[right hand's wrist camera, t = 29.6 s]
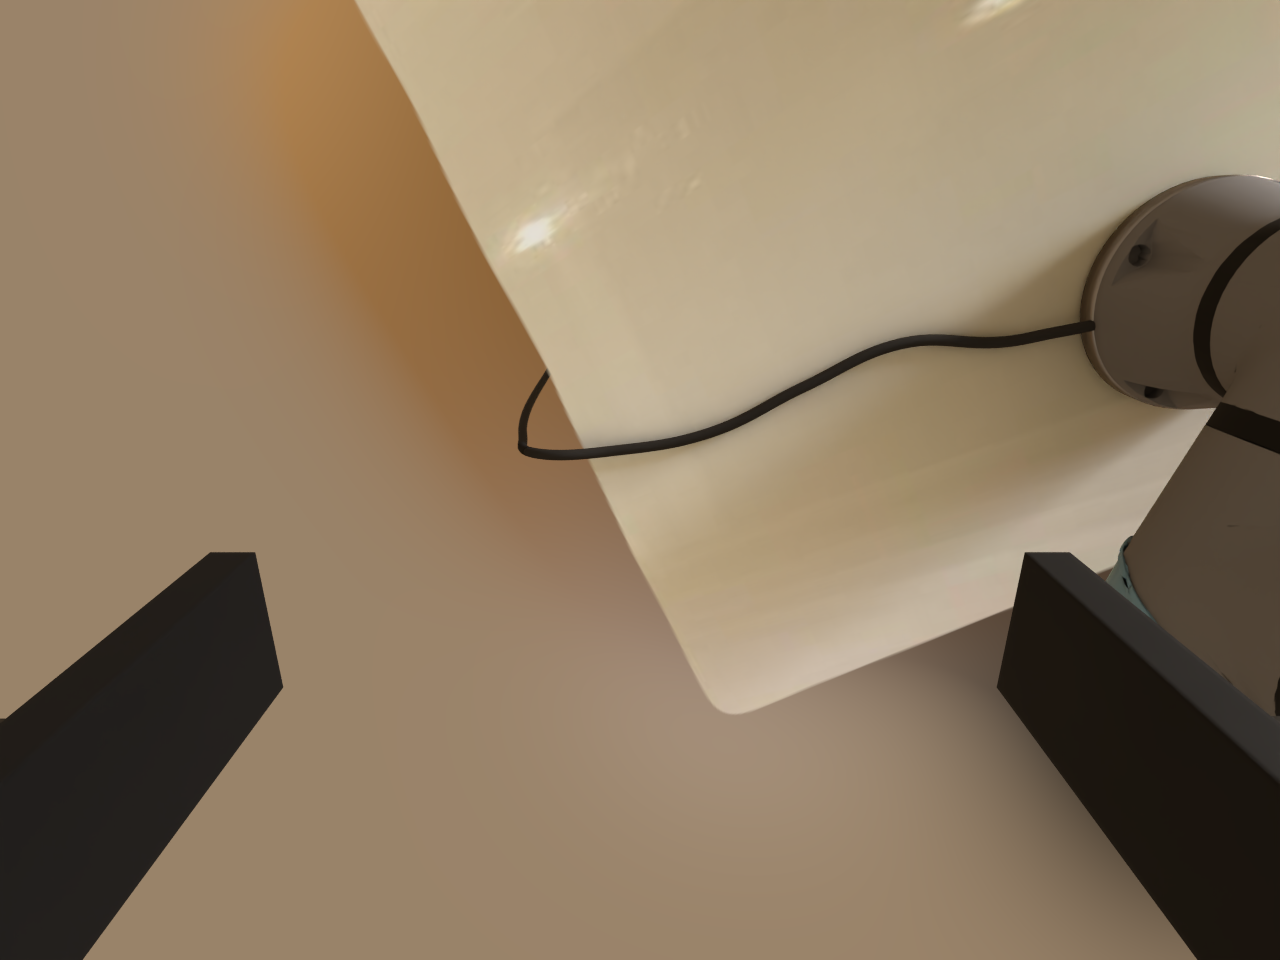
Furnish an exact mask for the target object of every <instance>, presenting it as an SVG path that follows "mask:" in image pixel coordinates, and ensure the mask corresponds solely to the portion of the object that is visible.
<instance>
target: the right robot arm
mask: <svg viewBox="0 0 1280 960" xmlns="http://www.w3.org/2000/svg"><path fill="white" fill-rule="evenodd" d="M1080 333H1081V335H1082V340H1083V345H1084V348H1085V351H1086V353H1087V356H1088V358H1089V360H1090V362H1091V364H1092V365H1093V367H1094V369H1095V370H1096V371H1097V373H1098V374H1099V375H1100V376H1101V377H1102V378H1103V379H1104V380H1105V381H1106V382H1107V383H1108V384H1109V385H1110V386H1112V387H1113V388H1114V389H1116V390H1118V391H1119V392H1121V393H1123V394H1125V395H1127V396H1129V397H1132V398H1134V399H1137V400H1139V401H1142V402H1144V403H1147V404H1151V405H1154V406H1159V407H1164V408H1173V409H1203V408H1216V409H1215V411H1214V412H1213V414H1212V416H1211V417H1210V419H1209V420H1208V422H1207V423H1206V425H1205V426H1204V428H1203V429H1202V431H1201V432H1200V434H1199V435H1198V437H1197V438H1196V440H1195V442H1194V443H1193V445H1192V446H1191V448H1190V449H1189V451H1188V452H1187V454H1186V455H1185V457H1184V459H1183V460H1182V462H1181V463H1180V465H1179V466H1178V468H1177V469H1176V471H1175V473H1174V474H1173V476H1172V477H1171V479H1170V480H1169V482H1168V483H1167V485H1166V486H1165V488H1164V490H1163V491H1162V493H1161V494H1160V496H1159V497H1158V499H1157V500H1156V502H1155V504H1154V505H1153V507H1152V508H1151V510H1150V511H1149V513H1148V514H1147V516H1146V517H1145V519H1144V521H1143V522H1142V524H1141V525H1140V527H1139V528H1138V530H1137V531H1136V533H1135V535H1134V536H1130V537H1129V538H1127V539H1126V541H1125V542H1124V543H1123V545H1122V546H1121V548H1120V553H1119V556H1118V561H1117V563H1116V564H1115V566H1114V568H1113V570H1112V572H1111V573H1110V575H1109V577H1108V578H1107V580H1106V581H1104V580H1103V579H1102V578H1101V577H1099V576H1098V575H1097V574H1096V573H1094V572H1093V571H1092V570H1091V569H1090V568H1088V567H1087V566H1086V565H1085V564H1083V563H1082V562H1081V561H1080V560H1078V559H1077V558H1076V557H1075V556H1074V555H1072V554H1071V553H1070V552H1025V554H1024V559H1023V564H1022V569H1021V573H1020V578H1019V583H1018V588H1017V593H1016V597H1015V602H1014V607H1013V612H1012V617H1011V621H1010V626H1009V631H1008V636H1007V641H1006V646H1005V651H1004V655H1003V660H1002V665H1001V670H1000V675H999V679H998V684H997V688H998V690H999V691H1000V692H1001V694H1002V695H1003V696H1004V698H1005V699H1006V700H1007V702H1008V703H1009V704H1010V706H1011V707H1012V709H1013V710H1014V711H1015V713H1016V714H1017V715H1018V717H1019V718H1020V719H1021V721H1022V722H1023V723H1024V725H1025V726H1026V728H1027V729H1028V730H1029V732H1030V733H1031V734H1032V736H1033V737H1034V738H1035V740H1036V741H1037V743H1038V744H1039V745H1040V747H1041V748H1042V749H1043V751H1044V752H1045V753H1046V755H1047V756H1048V757H1049V759H1050V760H1051V762H1052V763H1053V764H1054V766H1055V767H1056V768H1057V770H1058V771H1059V772H1060V774H1061V775H1062V776H1063V778H1064V779H1065V781H1066V782H1067V783H1068V785H1069V786H1070V787H1071V789H1072V790H1073V791H1074V793H1075V794H1076V795H1077V797H1078V798H1079V800H1080V801H1081V802H1082V804H1083V805H1084V806H1085V808H1086V809H1087V810H1088V812H1089V813H1090V815H1091V816H1092V817H1093V819H1094V820H1095V821H1096V823H1097V824H1098V825H1099V827H1100V828H1101V829H1102V831H1103V832H1104V834H1105V835H1106V836H1107V838H1108V839H1109V840H1110V842H1111V843H1112V844H1113V846H1114V847H1115V848H1116V850H1117V851H1118V853H1119V854H1120V855H1121V857H1122V858H1123V859H1124V861H1125V862H1126V863H1127V865H1128V866H1129V867H1130V869H1131V870H1132V872H1133V873H1134V874H1135V876H1136V877H1137V878H1138V880H1139V881H1140V882H1141V884H1142V885H1143V886H1144V888H1145V889H1146V891H1147V892H1148V893H1149V895H1150V896H1151V897H1152V899H1153V900H1154V901H1155V903H1156V904H1157V906H1158V907H1159V908H1160V910H1161V911H1162V912H1163V914H1164V915H1165V916H1166V918H1167V919H1168V920H1169V922H1170V923H1171V925H1172V926H1173V927H1174V929H1175V930H1176V931H1177V933H1178V934H1179V935H1180V937H1181V938H1182V939H1183V941H1184V942H1185V943H1186V945H1187V946H1188V948H1189V949H1190V950H1191V952H1192V953H1193V954H1194V956H1195V957H1196V958H1197V960H1280V181H1277V180H1273V179H1270V178H1266V177H1261V176H1254V175H1224V176H1212V177H1205V178H1200V179H1195V180H1192V181H1188V182H1185V183H1182V184H1180V185H1177V186H1175V187H1172V188H1170V189H1168V190H1166V191H1164V192H1162V193H1160V194H1159V195H1157V196H1156V197H1154V198H1152V199H1151V200H1149V201H1148V202H1146V203H1145V204H1144V205H1142V206H1141V207H1139V208H1138V209H1137V210H1136V211H1135V212H1134V213H1132V214H1131V215H1130V216H1129V217H1128V218H1127V219H1126V220H1125V221H1124V222H1123V223H1122V224H1121V225H1120V226H1119V227H1118V228H1117V230H1116V231H1115V232H1114V233H1113V234H1112V235H1111V237H1110V238H1109V240H1108V241H1107V242H1106V244H1105V245H1104V246H1103V248H1102V250H1101V251H1100V253H1099V255H1098V256H1097V258H1096V260H1095V262H1094V264H1093V266H1092V268H1091V271H1090V273H1089V276H1088V278H1087V281H1086V285H1085V288H1084V292H1083V297H1082V301H1081V310H1080V322H1078V323H1073V324H1068V325H1063V326H1058V327H1052V328H1047V329H1042V330H1038V331H1033V332H1029V333H1024V334H1018V335H1012V336H1002V337H968V336H955V335H917V336H910V337H905V338H900V339H896V340H892V341H888V342H885V343H882V344H879V345H876V346H873V347H871V348H868V349H866V350H864V351H862V352H859V353H857V354H855V355H853V356H851V357H849V358H847V359H845V360H843V361H841V362H840V363H838V364H836V365H834V366H832V367H830V368H829V369H827V370H825V371H823V372H821V373H819V374H817V375H815V376H813V377H811V378H809V379H807V380H805V381H803V382H801V383H799V384H797V385H795V386H793V387H791V388H789V389H787V390H785V391H783V392H781V393H779V394H778V395H776V396H774V397H772V398H770V399H769V400H767V401H765V402H763V403H761V404H760V405H758V406H756V407H754V408H752V409H751V410H749V411H747V412H745V413H743V414H741V415H739V416H737V417H735V418H732V419H730V420H728V421H726V422H723V423H721V424H718V425H715V426H712V427H710V428H706V429H703V430H700V431H697V432H693V433H690V434H686V435H682V436H678V437H673V438H668V439H662V440H656V441H649V442H641V443H633V444H624V445H616V446H607V447H598V448H588V449H575V450H547V449H538V448H532V447H529V446H527V440H528V438H527V424H528V419H529V416H530V413H531V410H532V408H533V406H534V403H535V401H536V399H537V398H538V396H539V394H540V392H541V390H542V389H543V387H544V385H545V384H546V382H547V380H548V379H549V377H550V373H549V371H548V369H546V371H545V372H544V374H543V376H542V377H541V379H540V380H539V382H538V383H537V385H536V386H535V388H534V390H533V391H532V393H531V395H530V396H529V398H528V400H527V402H526V404H525V406H524V408H523V410H522V413H521V417H520V420H519V426H518V450H519V451H520V453H521V454H523V455H525V456H528V457H532V458H537V459H545V460H578V459H590V458H600V457H609V456H617V455H626V454H635V453H643V452H651V451H658V450H664V449H670V448H675V447H680V446H684V445H688V444H692V443H696V442H699V441H702V440H706V439H709V438H712V437H715V436H718V435H720V434H723V433H726V432H728V431H731V430H733V429H735V428H738V427H740V426H742V425H744V424H746V423H748V422H750V421H752V420H754V419H756V418H757V417H759V416H761V415H763V414H765V413H767V412H768V411H770V410H772V409H774V408H775V407H777V406H779V405H781V404H783V403H785V402H786V401H788V400H790V399H792V398H794V397H796V396H798V395H800V394H802V393H804V392H806V391H809V390H811V389H813V388H815V387H817V386H819V385H821V384H823V383H825V382H827V381H828V380H830V379H832V378H834V377H836V376H838V375H840V374H841V373H843V372H845V371H847V370H849V369H851V368H853V367H855V366H857V365H859V364H861V363H863V362H865V361H867V360H870V359H872V358H875V357H877V356H880V355H883V354H886V353H889V352H892V351H896V350H900V349H905V348H910V347H917V346H954V347H967V348H1002V347H1012V346H1018V345H1024V344H1029V343H1034V342H1039V341H1043V340H1048V339H1053V338H1059V337H1064V336H1069V335H1075V334H1080ZM282 688H283V684H282V679H281V674H280V670H279V665H278V660H277V655H276V650H275V646H274V641H273V636H272V631H271V626H270V621H269V617H268V612H267V607H266V602H265V597H264V593H263V588H262V583H261V578H260V573H259V569H258V564H257V559H256V554H255V552H210V553H209V554H208V555H206V556H205V557H204V558H203V559H202V560H200V561H199V562H198V563H197V564H195V565H194V566H193V567H192V568H190V569H189V570H188V571H187V572H186V573H184V574H183V575H182V576H181V577H179V578H178V579H177V580H176V581H174V582H173V583H172V584H171V585H170V586H168V587H167V588H166V589H165V590H163V591H162V592H161V593H160V594H159V595H157V596H156V597H155V598H154V599H152V600H151V601H150V602H149V603H147V604H146V605H145V606H144V607H143V608H141V609H140V610H139V611H138V612H136V613H135V614H134V615H133V616H131V617H130V618H129V619H128V620H127V621H125V622H124V623H123V624H122V625H120V626H119V627H118V628H117V629H116V630H114V631H113V632H112V633H111V634H109V635H108V636H107V637H106V638H104V639H103V640H102V641H101V642H100V643H98V644H97V645H96V646H95V647H93V648H92V649H91V650H90V651H88V652H87V653H86V654H85V655H84V656H82V657H81V658H80V659H79V660H77V661H76V662H75V663H74V664H72V665H71V666H70V667H69V668H68V669H66V670H65V671H64V672H63V673H61V674H60V675H59V676H58V677H57V678H55V679H54V680H53V681H52V682H50V683H49V684H48V685H47V686H45V687H44V688H43V689H42V690H41V691H39V692H38V693H37V694H36V695H34V696H33V697H32V698H31V699H29V700H28V701H27V702H26V703H25V704H23V705H22V706H21V707H20V708H18V709H17V710H16V711H15V712H14V713H12V714H11V715H10V716H9V717H7V718H6V719H0V960H83V958H84V957H85V956H86V954H87V953H88V952H89V950H90V949H91V948H92V946H93V945H94V944H95V942H96V941H97V939H98V938H99V937H100V935H101V934H102V933H103V931H104V930H105V929H106V927H107V926H108V925H109V923H110V922H111V920H112V919H113V918H114V916H115V915H116V914H117V912H118V911H119V910H120V908H121V907H122V905H123V904H124V903H125V901H126V900H127V899H128V897H129V896H130V895H131V893H132V892H133V891H134V889H135V888H136V886H137V885H138V884H139V882H140V881H141V880H142V878H143V877H144V876H145V874H146V873H147V872H148V870H149V869H150V867H151V866H152V865H153V863H154V862H155V861H156V859H157V858H158V857H159V855H160V854H161V853H162V851H163V850H164V848H165V847H166V846H167V844H168V843H169V842H170V840H171V839H172V838H173V836H174V835H175V834H176V832H177V831H178V829H179V828H180V827H181V825H182V824H183V823H184V821H185V820H186V819H187V817H188V816H189V814H190V813H191V812H192V810H193V809H194V808H195V806H196V805H197V804H198V802H199V801H200V800H201V798H202V797H203V795H204V794H205V793H206V791H207V790H208V789H209V787H210V786H211V785H212V783H213V782H214V781H215V779H216V778H217V776H218V775H219V774H220V772H221V771H222V770H223V768H224V767H225V766H226V764H227V763H228V762H229V760H230V759H231V757H232V756H233V755H234V753H235V752H236V751H237V749H238V748H239V746H240V745H241V744H242V742H243V741H244V740H245V738H246V737H247V736H248V734H249V733H250V732H251V730H252V729H253V728H254V726H255V725H256V724H257V722H258V721H259V719H260V718H261V717H262V715H263V714H264V712H265V711H266V710H267V708H268V707H269V706H270V705H271V703H272V702H273V700H274V699H275V698H276V696H277V695H278V694H279V692H280V691H281V690H282Z"/></svg>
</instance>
